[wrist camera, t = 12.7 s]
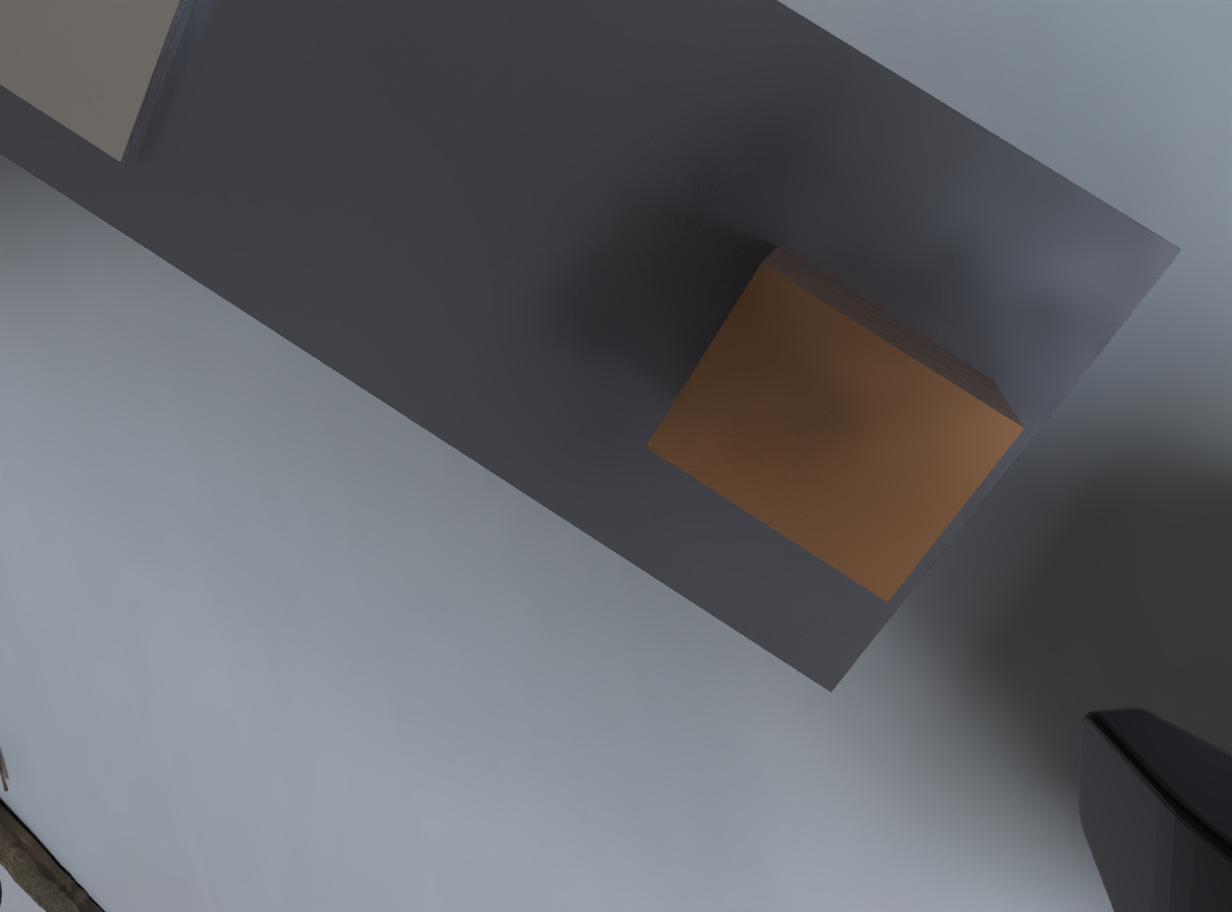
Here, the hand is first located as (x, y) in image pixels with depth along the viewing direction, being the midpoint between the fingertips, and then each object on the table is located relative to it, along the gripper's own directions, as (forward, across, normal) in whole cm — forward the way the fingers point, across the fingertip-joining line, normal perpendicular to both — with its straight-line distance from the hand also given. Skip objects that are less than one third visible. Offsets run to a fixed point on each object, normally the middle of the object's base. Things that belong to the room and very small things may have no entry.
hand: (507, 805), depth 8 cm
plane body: (+14, +3, -6) cm, 15 cm away
